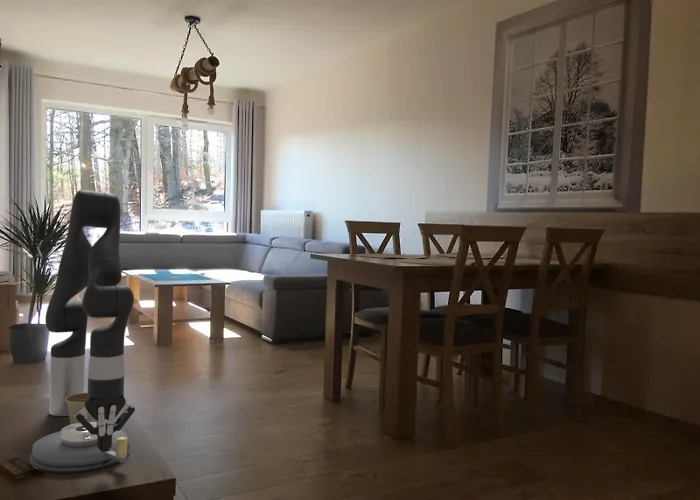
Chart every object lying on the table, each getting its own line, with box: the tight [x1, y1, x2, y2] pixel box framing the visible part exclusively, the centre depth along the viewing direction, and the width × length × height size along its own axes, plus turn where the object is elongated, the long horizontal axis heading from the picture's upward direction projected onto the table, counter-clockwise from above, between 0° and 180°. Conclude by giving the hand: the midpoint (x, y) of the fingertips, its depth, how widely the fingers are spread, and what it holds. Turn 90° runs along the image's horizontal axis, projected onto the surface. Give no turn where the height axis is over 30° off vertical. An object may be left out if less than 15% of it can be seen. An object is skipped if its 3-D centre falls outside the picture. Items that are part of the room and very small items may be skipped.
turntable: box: [31, 429, 129, 467], centre depth 139 cm, size 26×21×6 cm
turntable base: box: [29, 442, 131, 475], centre depth 139 cm, size 22×22×1 cm
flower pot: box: [65, 392, 96, 425], centre depth 158 cm, size 9×9×9 cm
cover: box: [60, 422, 105, 448], centre depth 140 cm, size 10×10×3 cm
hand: (104, 450), depth 129 cm, fingers closed
